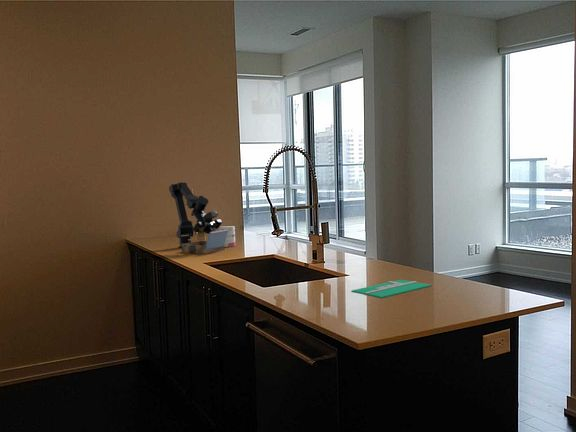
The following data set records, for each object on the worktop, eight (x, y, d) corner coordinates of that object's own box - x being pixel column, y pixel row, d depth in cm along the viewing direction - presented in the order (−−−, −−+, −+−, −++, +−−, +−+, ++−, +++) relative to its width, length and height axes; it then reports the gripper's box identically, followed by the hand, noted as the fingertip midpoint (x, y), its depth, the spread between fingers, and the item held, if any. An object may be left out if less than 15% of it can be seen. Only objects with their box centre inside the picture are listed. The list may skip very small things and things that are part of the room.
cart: (179, 252, 331) (179, 244, 331) (202, 247, 346) (202, 240, 346) (203, 254, 321) (202, 246, 320) (226, 249, 336) (225, 241, 335)
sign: (400, 278, 231) (431, 284, 219) (400, 281, 231) (431, 287, 219) (351, 289, 215) (382, 295, 203) (351, 292, 215) (382, 299, 203)
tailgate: (204, 248, 323) (209, 232, 320) (221, 245, 334) (226, 229, 331) (206, 249, 322) (211, 233, 319) (223, 246, 334) (228, 230, 330)
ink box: (235, 245, 351) (235, 225, 350) (234, 246, 346) (233, 226, 345) (221, 245, 352) (220, 226, 351) (219, 247, 347) (218, 227, 346)
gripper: (196, 207, 321) (211, 228, 315) (219, 204, 336) (234, 224, 330) (186, 221, 326) (201, 242, 320) (209, 218, 341) (224, 238, 335)
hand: (216, 236), depth 326 cm, fingers closed, pressing on tailgate
